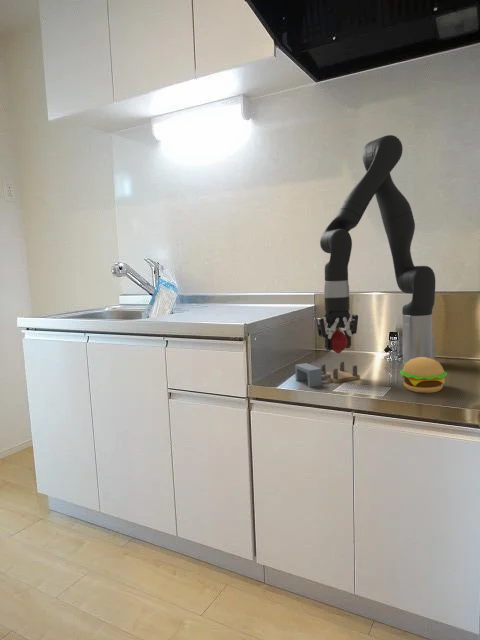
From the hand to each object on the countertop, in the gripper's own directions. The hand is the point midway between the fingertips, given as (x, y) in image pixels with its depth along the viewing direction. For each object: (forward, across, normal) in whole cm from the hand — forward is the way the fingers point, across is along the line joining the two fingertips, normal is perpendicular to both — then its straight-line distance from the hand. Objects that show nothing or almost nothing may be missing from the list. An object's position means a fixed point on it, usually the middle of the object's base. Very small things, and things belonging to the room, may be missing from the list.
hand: (338, 348), depth 139 cm
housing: (+9, +11, 0) cm, 14 cm away
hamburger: (+9, -13, +22) cm, 27 cm away
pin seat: (+9, +2, 0) cm, 9 cm away
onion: (+2, 0, 0) cm, 2 cm away
